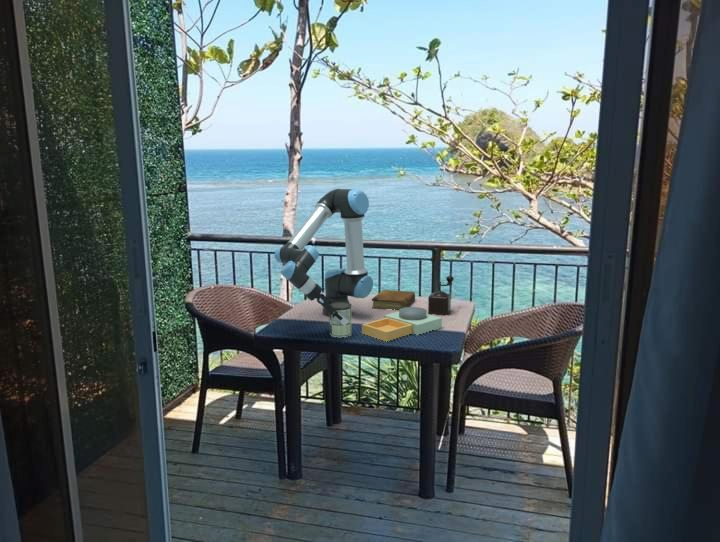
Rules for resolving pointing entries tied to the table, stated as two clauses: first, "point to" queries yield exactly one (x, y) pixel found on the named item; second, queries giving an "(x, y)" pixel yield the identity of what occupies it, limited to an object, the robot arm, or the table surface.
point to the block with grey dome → (417, 319)
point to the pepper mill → (440, 300)
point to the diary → (393, 299)
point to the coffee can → (336, 326)
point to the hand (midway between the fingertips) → (344, 319)
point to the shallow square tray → (386, 329)
